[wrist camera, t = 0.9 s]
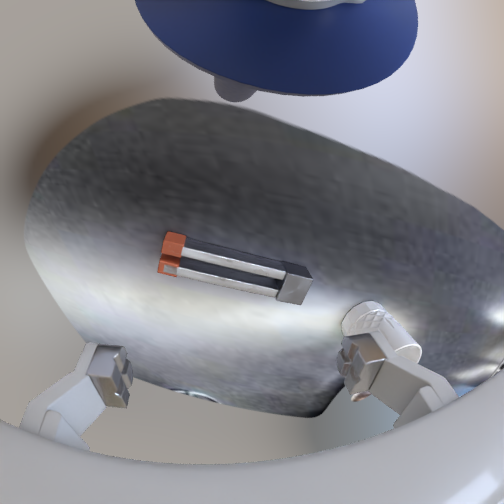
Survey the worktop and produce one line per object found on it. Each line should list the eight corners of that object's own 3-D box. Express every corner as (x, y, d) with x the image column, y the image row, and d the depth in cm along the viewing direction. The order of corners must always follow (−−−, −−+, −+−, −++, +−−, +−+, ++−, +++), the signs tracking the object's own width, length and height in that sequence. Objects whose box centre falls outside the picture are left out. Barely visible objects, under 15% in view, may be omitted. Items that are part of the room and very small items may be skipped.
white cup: (327, 320, 34) (357, 375, 25) (375, 286, 33) (416, 333, 24) (348, 348, 37) (376, 397, 28) (390, 318, 36) (425, 362, 27)
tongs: (161, 261, 28) (156, 274, 25) (167, 230, 26) (162, 241, 24) (294, 292, 31) (300, 306, 29) (306, 266, 30) (314, 278, 28)
